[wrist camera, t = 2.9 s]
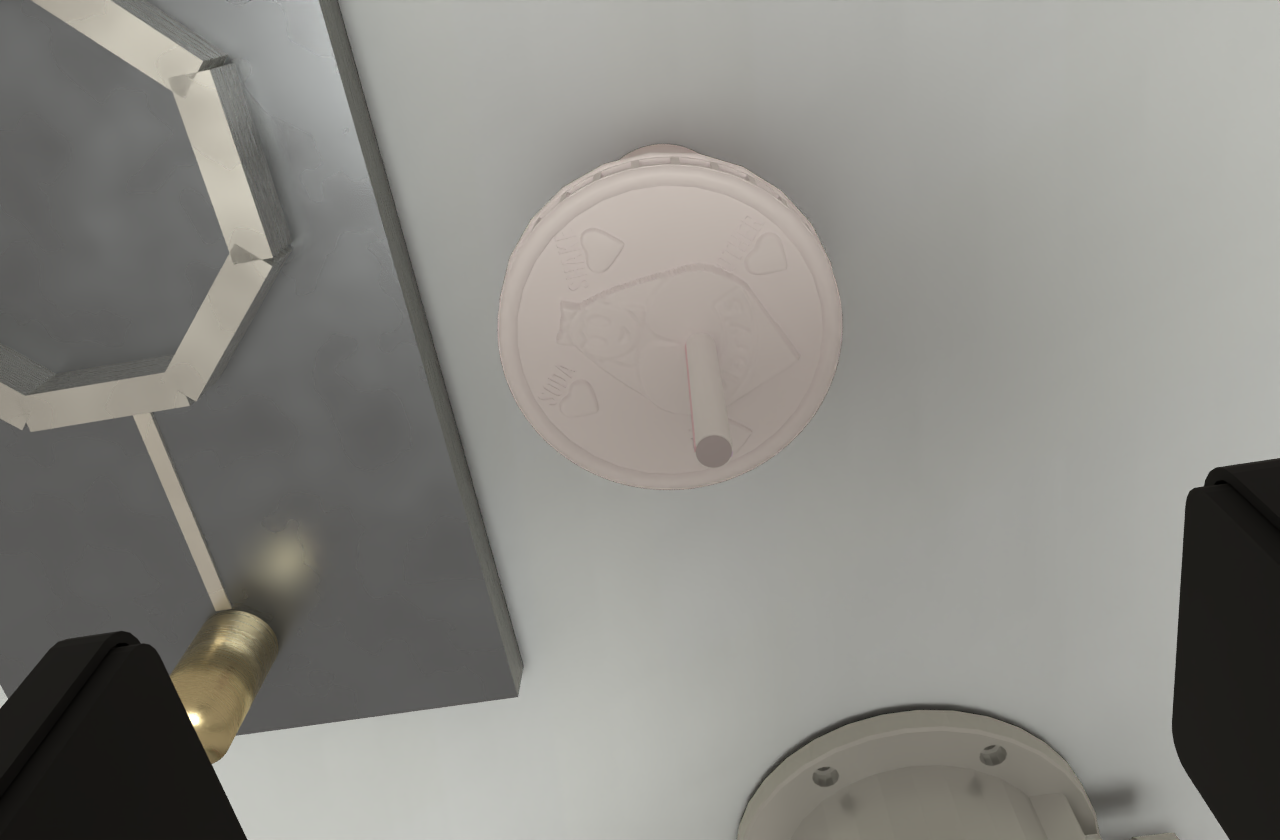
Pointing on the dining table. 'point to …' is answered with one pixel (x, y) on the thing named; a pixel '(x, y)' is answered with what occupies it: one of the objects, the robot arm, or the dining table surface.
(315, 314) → the grey base plate
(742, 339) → the smoothie
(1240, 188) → the dining table surface
